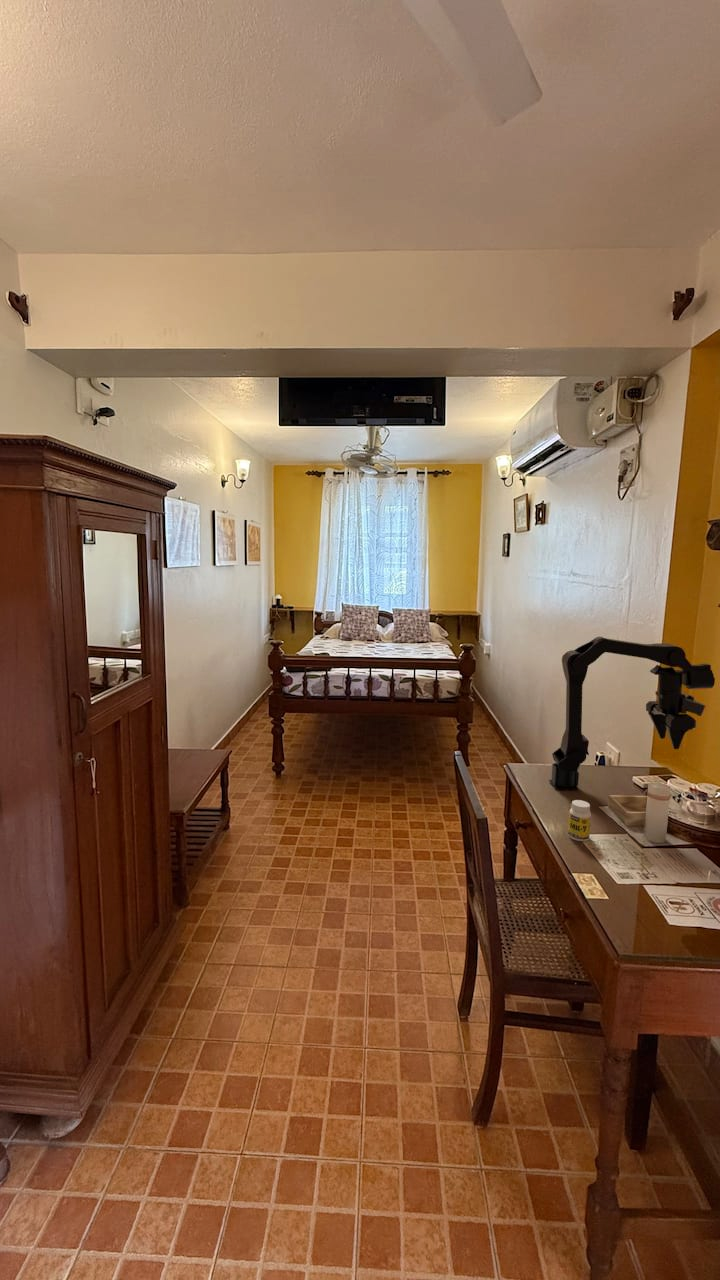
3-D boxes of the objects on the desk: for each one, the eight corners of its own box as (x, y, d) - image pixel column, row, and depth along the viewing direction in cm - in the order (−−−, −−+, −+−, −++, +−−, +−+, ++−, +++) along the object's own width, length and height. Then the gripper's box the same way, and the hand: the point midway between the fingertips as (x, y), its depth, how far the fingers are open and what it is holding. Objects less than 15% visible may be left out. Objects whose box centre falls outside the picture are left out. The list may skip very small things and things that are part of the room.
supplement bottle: (566, 838, 129) (568, 805, 128) (569, 830, 133) (571, 797, 132) (588, 843, 127) (590, 809, 126) (590, 835, 131) (592, 801, 130)
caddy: (625, 826, 136) (626, 812, 135) (607, 807, 146) (608, 795, 145) (667, 826, 136) (668, 813, 135) (646, 808, 146) (647, 796, 145)
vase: (649, 843, 128) (654, 790, 126) (639, 833, 132) (644, 781, 130) (670, 843, 128) (675, 790, 126) (659, 833, 132) (664, 782, 130)
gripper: (718, 696, 142) (716, 754, 144) (686, 681, 160) (685, 733, 162) (672, 697, 143) (671, 755, 145) (645, 682, 162) (645, 733, 164)
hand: (669, 743), depth 154 cm, fingers open, 9 cm apart
